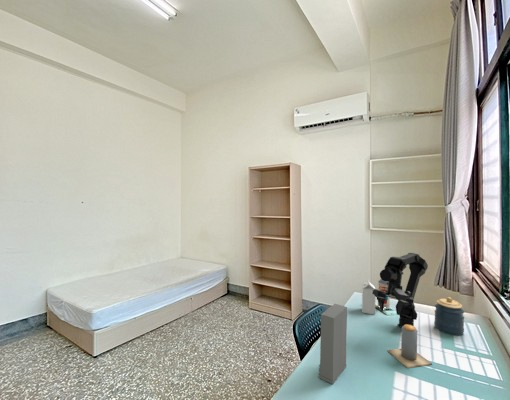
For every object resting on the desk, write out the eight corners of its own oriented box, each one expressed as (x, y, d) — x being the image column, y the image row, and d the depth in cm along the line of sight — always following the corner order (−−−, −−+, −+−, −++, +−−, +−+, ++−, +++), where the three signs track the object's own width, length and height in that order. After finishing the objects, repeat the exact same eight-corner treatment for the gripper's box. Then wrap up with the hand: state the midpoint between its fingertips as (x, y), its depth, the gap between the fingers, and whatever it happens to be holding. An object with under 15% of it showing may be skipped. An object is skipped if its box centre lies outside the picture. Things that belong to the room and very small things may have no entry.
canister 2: (468, 338, 134) (469, 303, 134) (438, 333, 138) (439, 299, 138) (458, 326, 146) (458, 294, 146) (430, 322, 150) (431, 291, 150)
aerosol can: (377, 308, 168) (377, 277, 168) (378, 305, 174) (378, 274, 174) (389, 311, 165) (389, 279, 164) (389, 307, 171) (390, 276, 170)
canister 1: (404, 350, 121) (405, 322, 121) (419, 357, 116) (419, 327, 116) (398, 355, 117) (399, 325, 117) (413, 362, 112) (414, 331, 112)
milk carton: (374, 310, 166) (374, 280, 166) (375, 314, 159) (375, 283, 159) (361, 308, 168) (362, 278, 168) (362, 312, 162) (363, 282, 161)
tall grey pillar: (332, 361, 113) (333, 303, 113) (346, 367, 109) (347, 306, 109) (317, 377, 102) (318, 313, 102) (332, 385, 99) (333, 318, 98)
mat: (409, 348, 123) (410, 347, 123) (431, 364, 112) (432, 363, 112) (387, 351, 121) (387, 350, 121) (407, 367, 109) (407, 366, 109)
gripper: (385, 281, 127) (381, 315, 125) (422, 289, 128) (418, 322, 126) (374, 277, 138) (369, 308, 136) (408, 284, 139) (404, 314, 137)
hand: (390, 313), depth 133 cm, fingers open, 9 cm apart
